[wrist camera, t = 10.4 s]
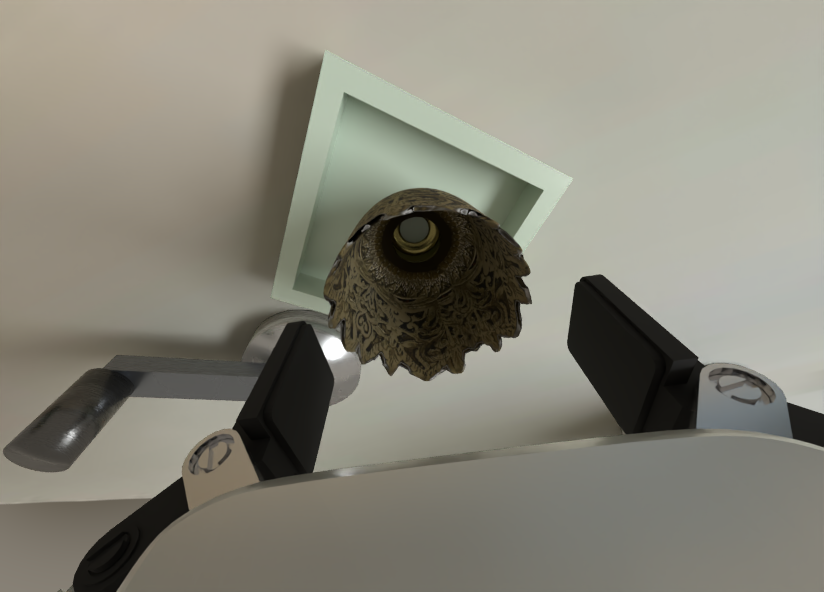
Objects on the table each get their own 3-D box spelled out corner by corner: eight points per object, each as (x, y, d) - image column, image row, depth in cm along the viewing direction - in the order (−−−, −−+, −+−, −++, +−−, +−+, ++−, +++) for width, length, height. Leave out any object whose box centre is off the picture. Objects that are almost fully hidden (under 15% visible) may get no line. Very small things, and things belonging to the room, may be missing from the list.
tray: (550, 168, 17) (573, 178, 15) (450, 327, 23) (456, 350, 21) (334, 55, 14) (325, 49, 11) (282, 275, 19) (270, 298, 17)
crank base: (261, 295, 20) (250, 314, 18) (376, 328, 22) (375, 347, 21) (245, 374, 24) (234, 396, 22) (344, 396, 26) (341, 417, 24)
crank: (330, 358, 20) (313, 441, 16) (330, 397, 22) (315, 480, 18) (87, 344, 18) (-20, 433, 14) (113, 388, 21) (28, 479, 16)
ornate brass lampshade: (397, 302, 20) (401, 404, 14) (320, 212, 17) (275, 292, 10) (499, 243, 18) (561, 328, 12) (437, 127, 15) (477, 155, 8)
